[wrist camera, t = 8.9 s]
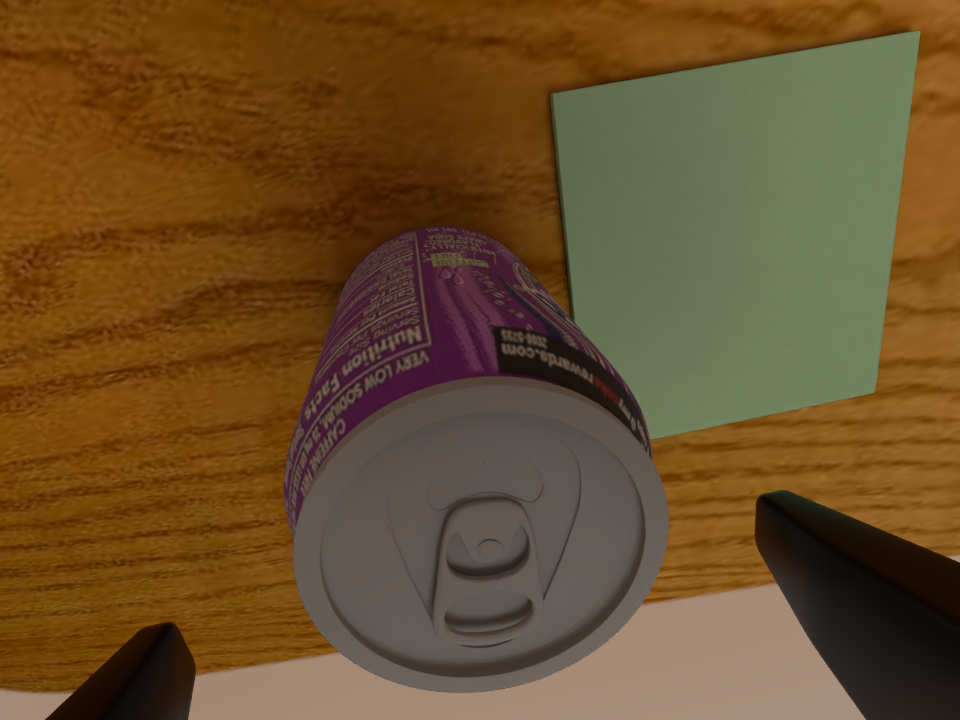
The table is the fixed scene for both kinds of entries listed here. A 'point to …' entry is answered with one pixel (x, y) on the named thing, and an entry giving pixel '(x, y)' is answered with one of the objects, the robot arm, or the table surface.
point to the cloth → (737, 227)
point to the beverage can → (467, 474)
